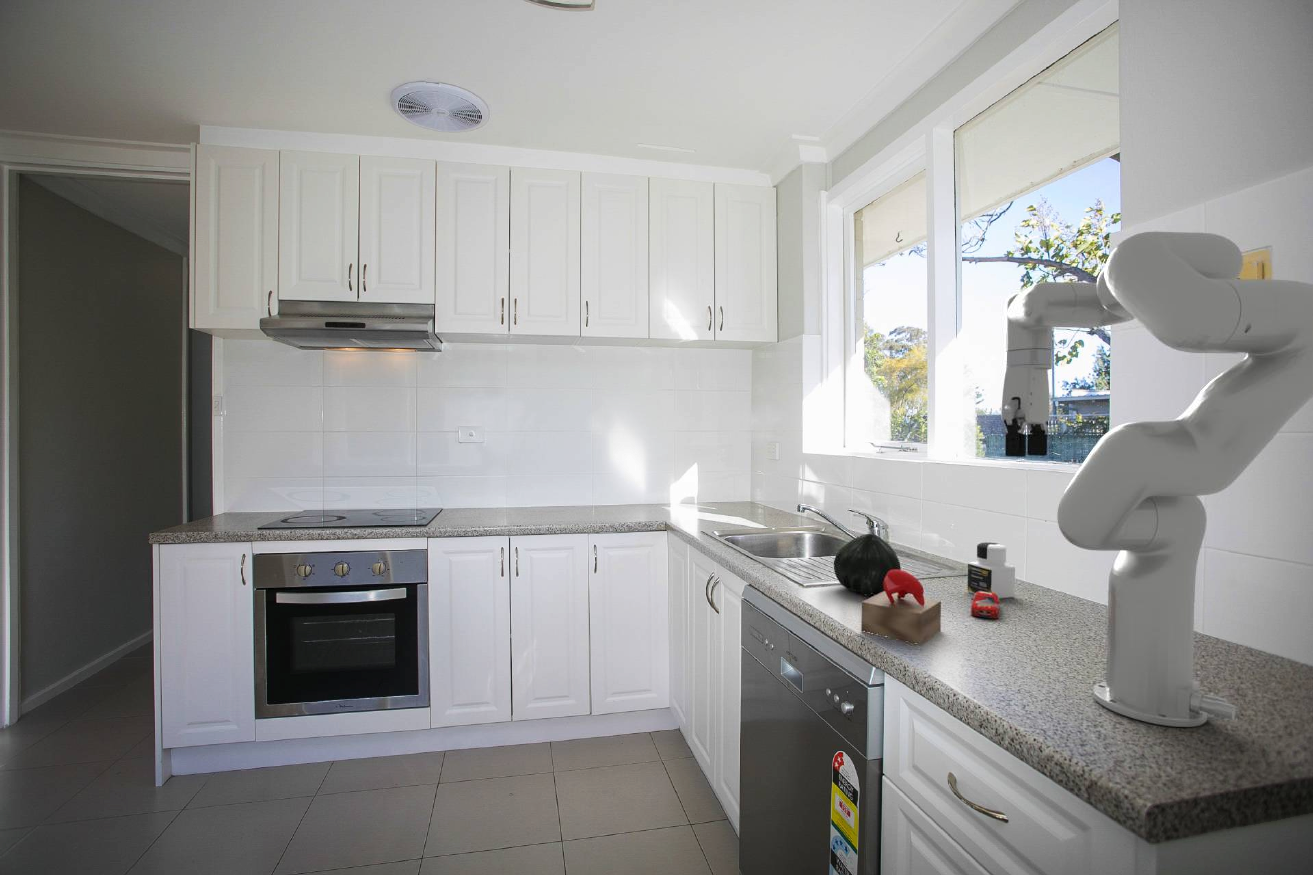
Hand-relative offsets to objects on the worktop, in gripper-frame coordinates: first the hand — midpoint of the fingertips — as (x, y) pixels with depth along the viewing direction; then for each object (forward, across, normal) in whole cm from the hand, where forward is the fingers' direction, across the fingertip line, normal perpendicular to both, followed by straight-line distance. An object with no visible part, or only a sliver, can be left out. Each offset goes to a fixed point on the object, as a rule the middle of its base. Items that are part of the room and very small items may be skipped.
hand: (1026, 455), depth 116 cm
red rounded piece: (+28, +12, -17) cm, 35 cm away
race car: (+34, -15, -13) cm, 40 cm away
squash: (+34, -9, -38) cm, 52 cm away
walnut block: (+34, +12, -17) cm, 40 cm away
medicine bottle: (+34, -30, -18) cm, 49 cm away
